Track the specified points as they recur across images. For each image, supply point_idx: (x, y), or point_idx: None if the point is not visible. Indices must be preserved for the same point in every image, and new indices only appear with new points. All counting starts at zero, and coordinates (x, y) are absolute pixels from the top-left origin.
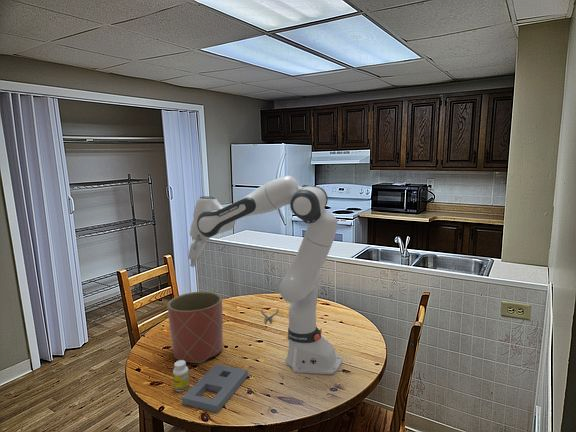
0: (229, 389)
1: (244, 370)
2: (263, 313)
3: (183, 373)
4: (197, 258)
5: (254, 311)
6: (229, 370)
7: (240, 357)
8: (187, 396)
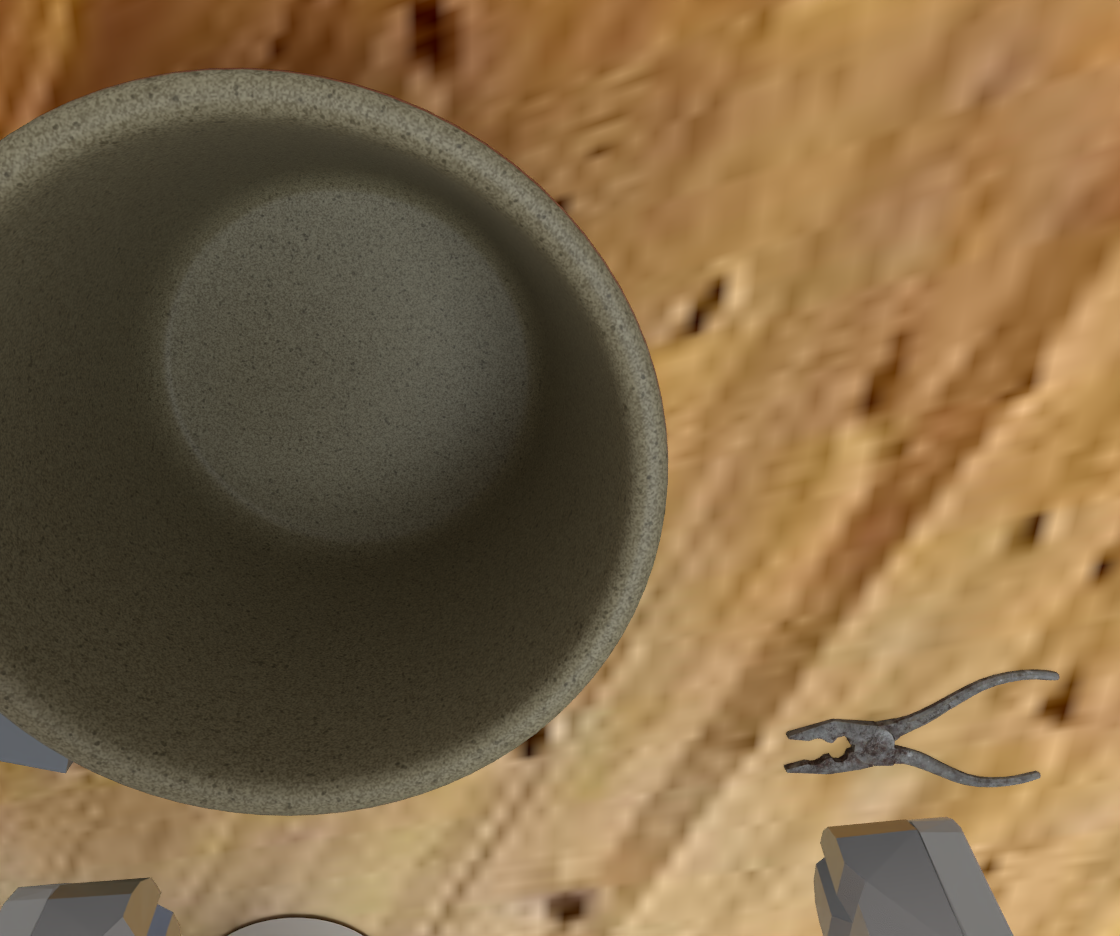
0: None
1: (55, 757)
2: (965, 697)
3: None
4: (820, 893)
5: (1027, 622)
6: None
7: None
8: None
